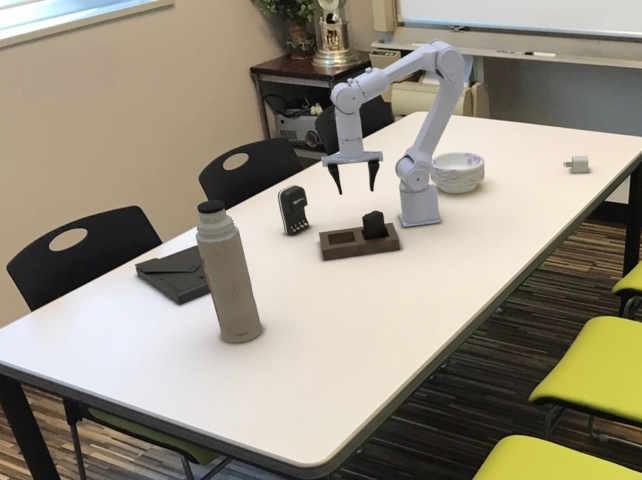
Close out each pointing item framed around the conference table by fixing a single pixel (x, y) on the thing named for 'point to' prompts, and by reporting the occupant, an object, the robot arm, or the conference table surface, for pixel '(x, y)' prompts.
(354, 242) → the two-well brown tray
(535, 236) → the conference table surface
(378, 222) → the ink cartridge
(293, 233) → the battery charger
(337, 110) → the robot arm
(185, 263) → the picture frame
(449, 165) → the paper bowls
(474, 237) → the conference table surface
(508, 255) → the conference table surface
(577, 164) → the usb wall charger
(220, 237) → the thermos bottle
